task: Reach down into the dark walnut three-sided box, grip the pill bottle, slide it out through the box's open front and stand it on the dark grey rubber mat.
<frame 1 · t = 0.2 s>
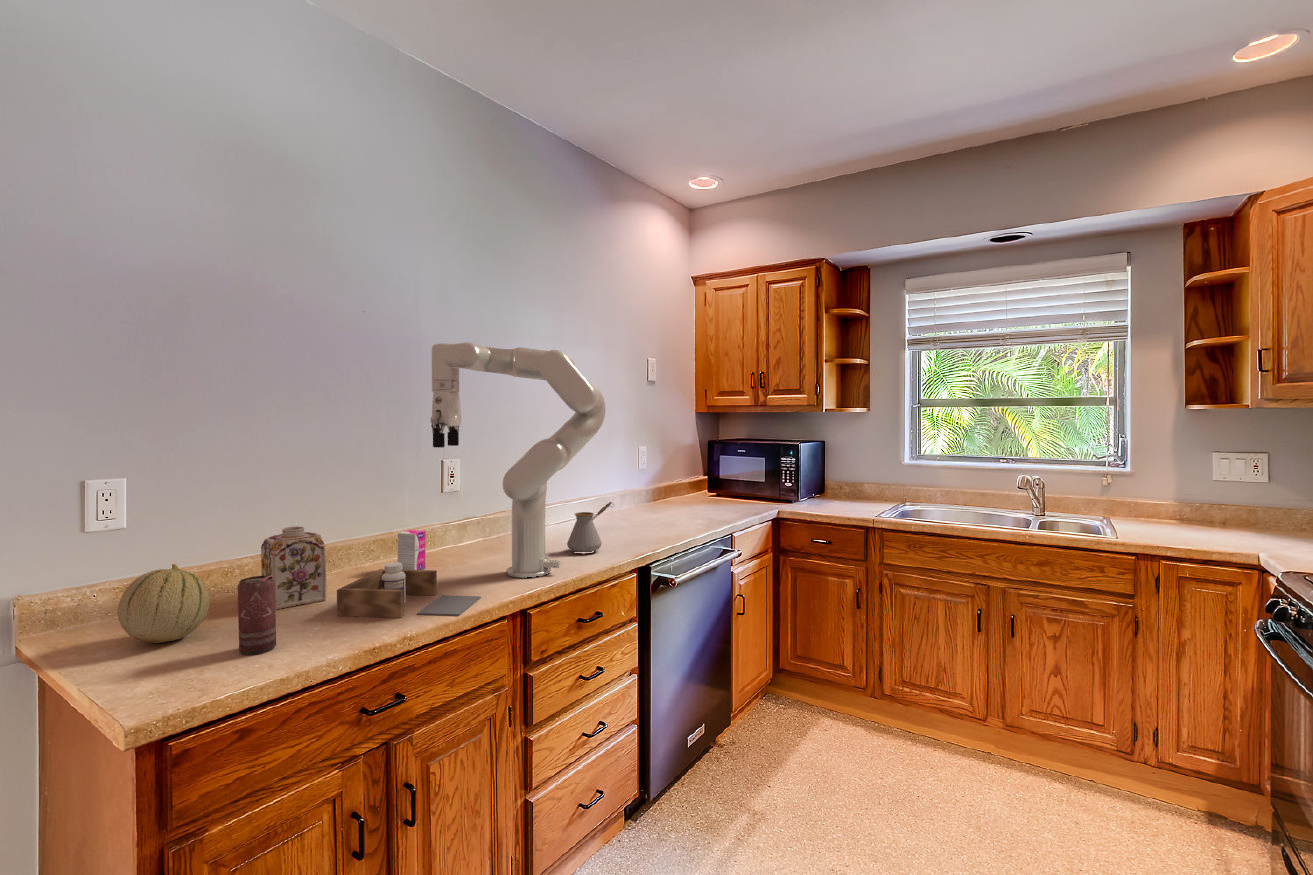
hand: (446, 446, 181), 36 cm above the worktop, tool pointing down, fingers open, 9 cm apart
coffee pot: (593, 549, 213), on the worktop
can: (258, 650, 123), on the worktop
open box: (389, 604, 152), on the worktop
pill bottle: (393, 605, 152), on the worktop
supplement box: (411, 570, 184), on the worktop
cantaloupe: (166, 641, 127), on the worktop
mat: (450, 605, 150), on the worktop
decorative jar: (294, 601, 155), on the worktop
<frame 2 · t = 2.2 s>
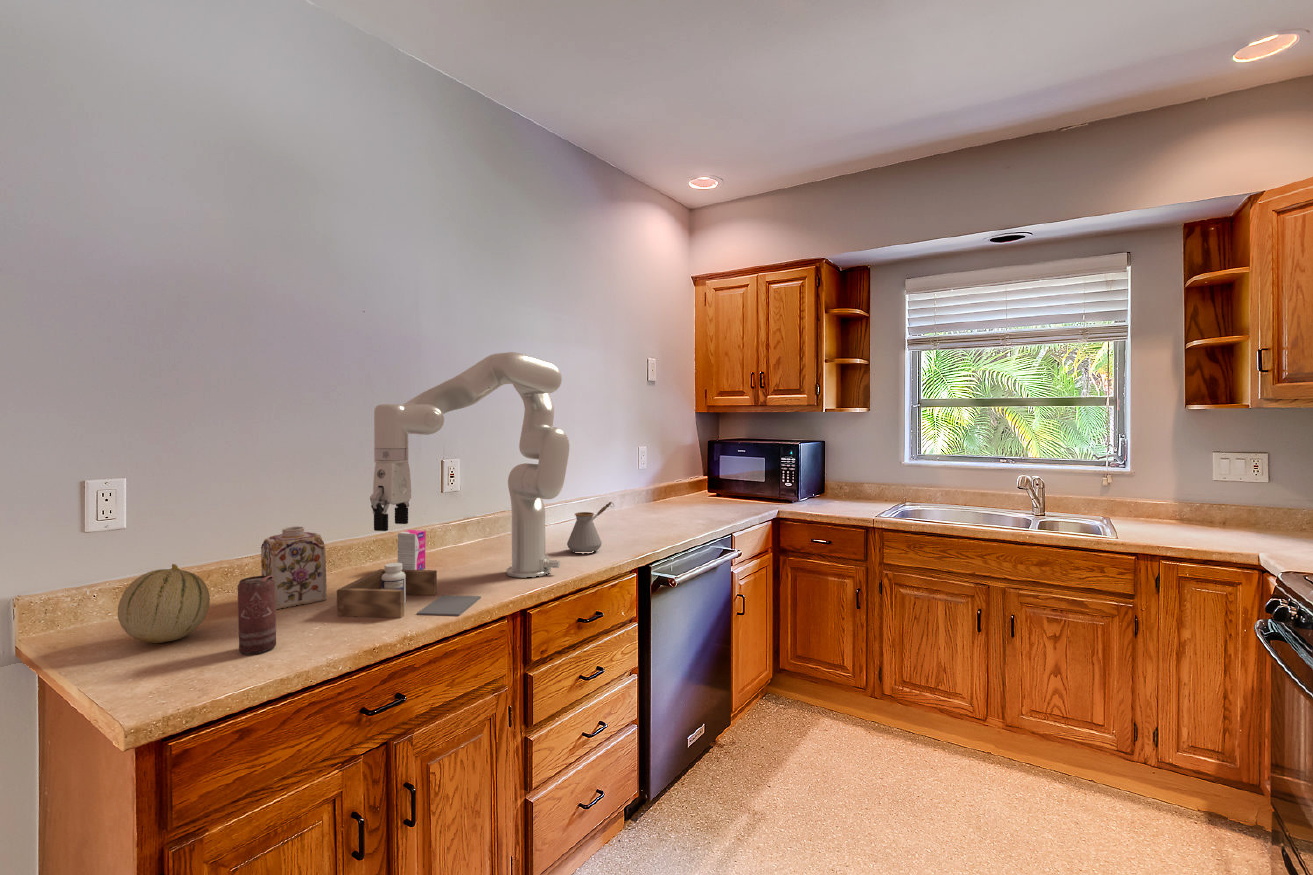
hand: (391, 527, 151), 19 cm above the worktop, tool pointing down, fingers open, 9 cm apart
nothing on the worktop moved.
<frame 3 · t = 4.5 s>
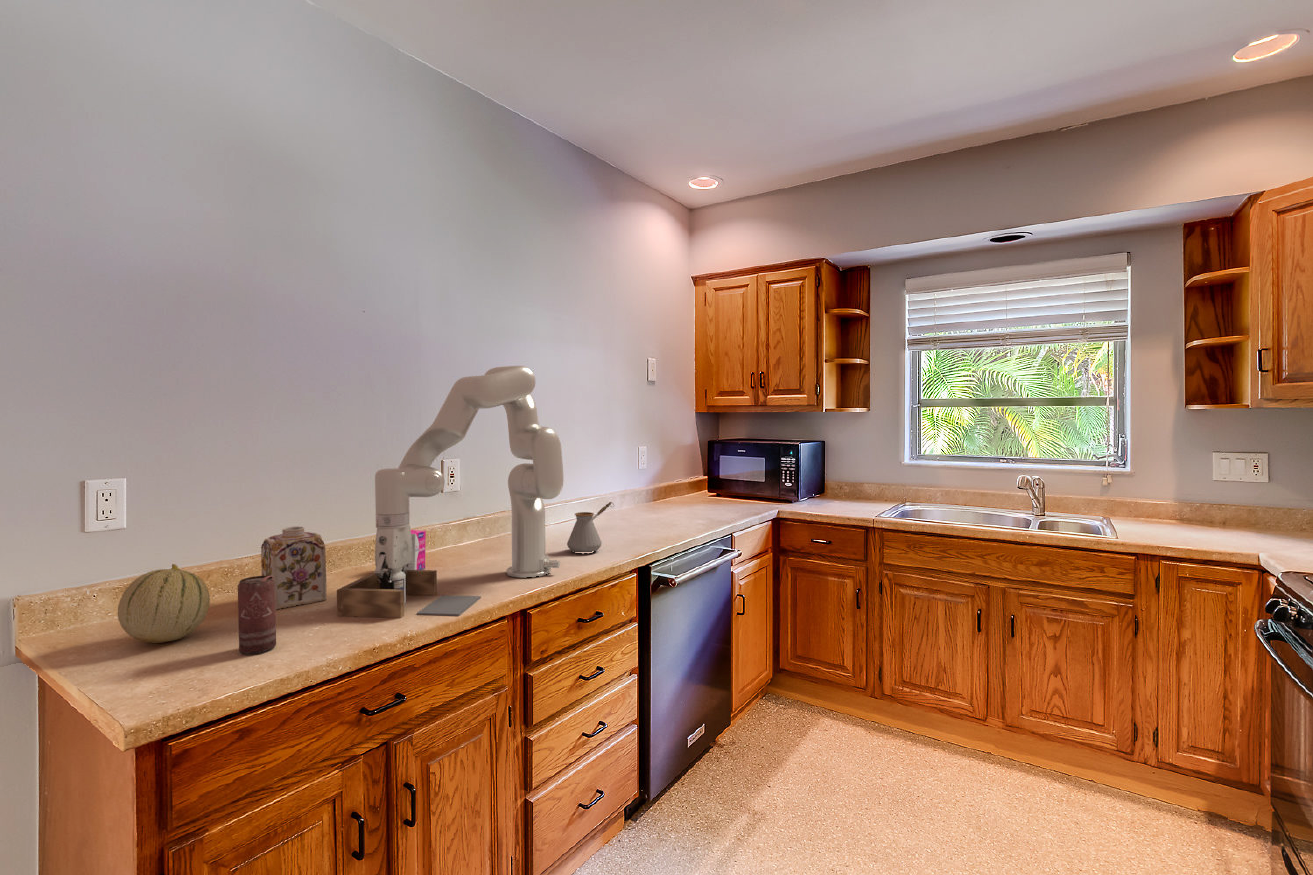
hand: (393, 594, 151), 2 cm above the worktop, tool pointing down, fingers closed on pill bottle, 5 cm apart
pill bottle: (393, 605, 152), on the worktop, touching gripper
everything else where it was.
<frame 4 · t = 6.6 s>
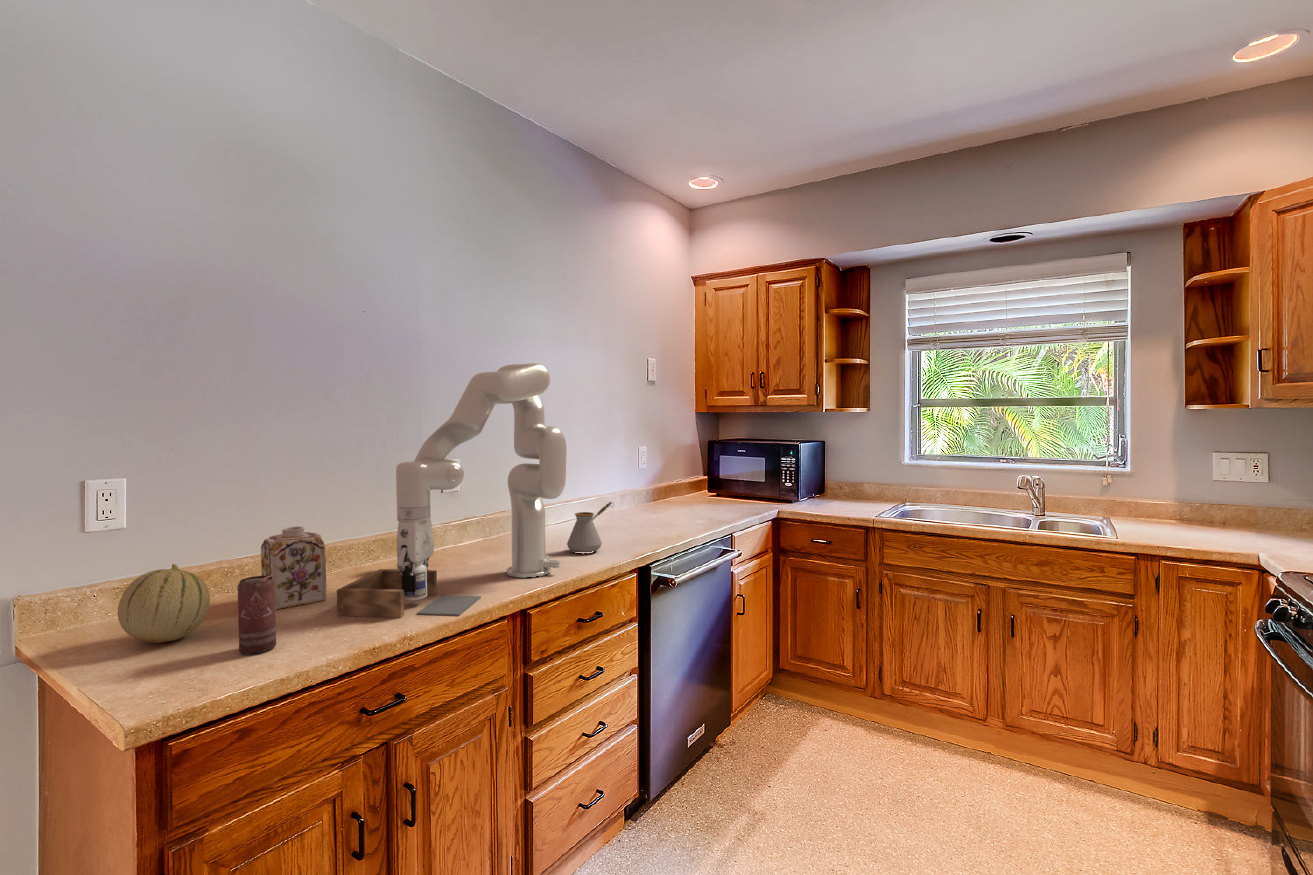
hand: (415, 587, 151), 4 cm above the worktop, tool pointing down, fingers closed on pill bottle, 5 cm apart
pill bottle: (415, 598, 151), point 2 cm above the worktop, touching gripper
everything else where it was.
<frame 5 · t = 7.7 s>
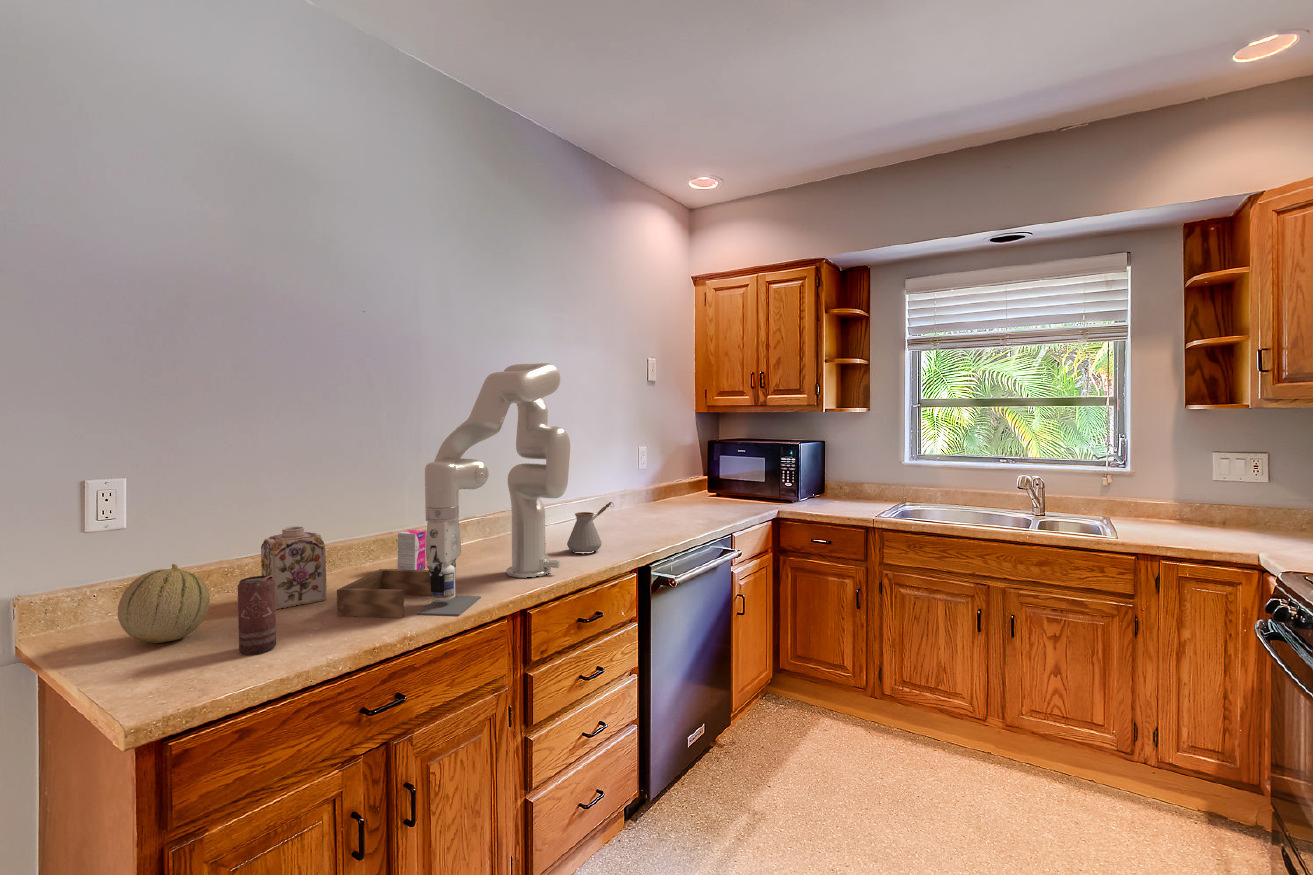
hand: (443, 587, 151), 4 cm above the worktop, tool pointing down, fingers closed on pill bottle, 5 cm apart
pill bottle: (443, 598, 151), point 2 cm above the worktop, touching gripper
everything else where it was.
when the fingers open (4 cm above the worktop, at t = 8.8 s): pill bottle stays where it is, resting on mat.
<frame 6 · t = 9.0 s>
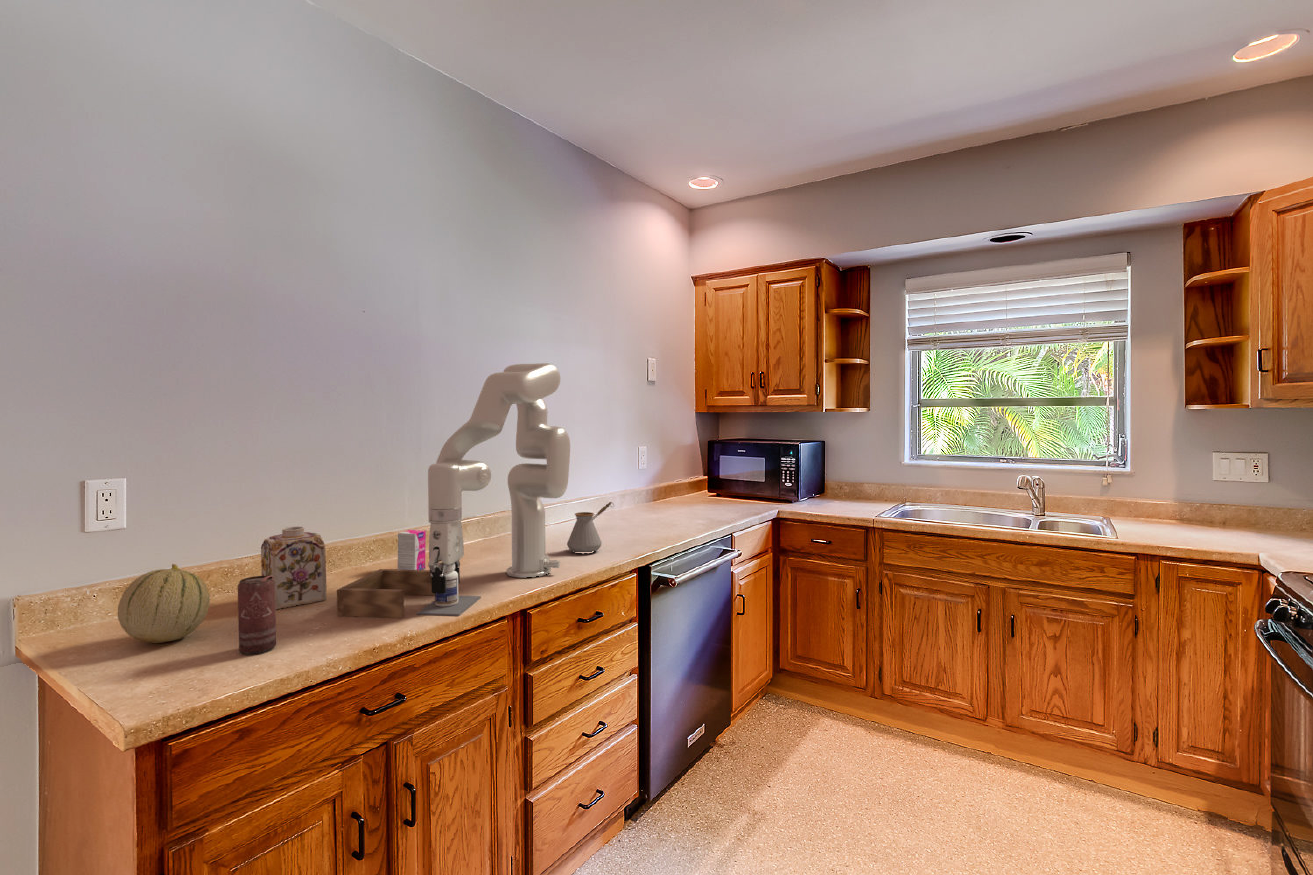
hand: (446, 587, 150), 4 cm above the worktop, tool pointing down, fingers open, 7 cm apart
pill bottle: (446, 604, 151), resting on mat
everything else where it was.
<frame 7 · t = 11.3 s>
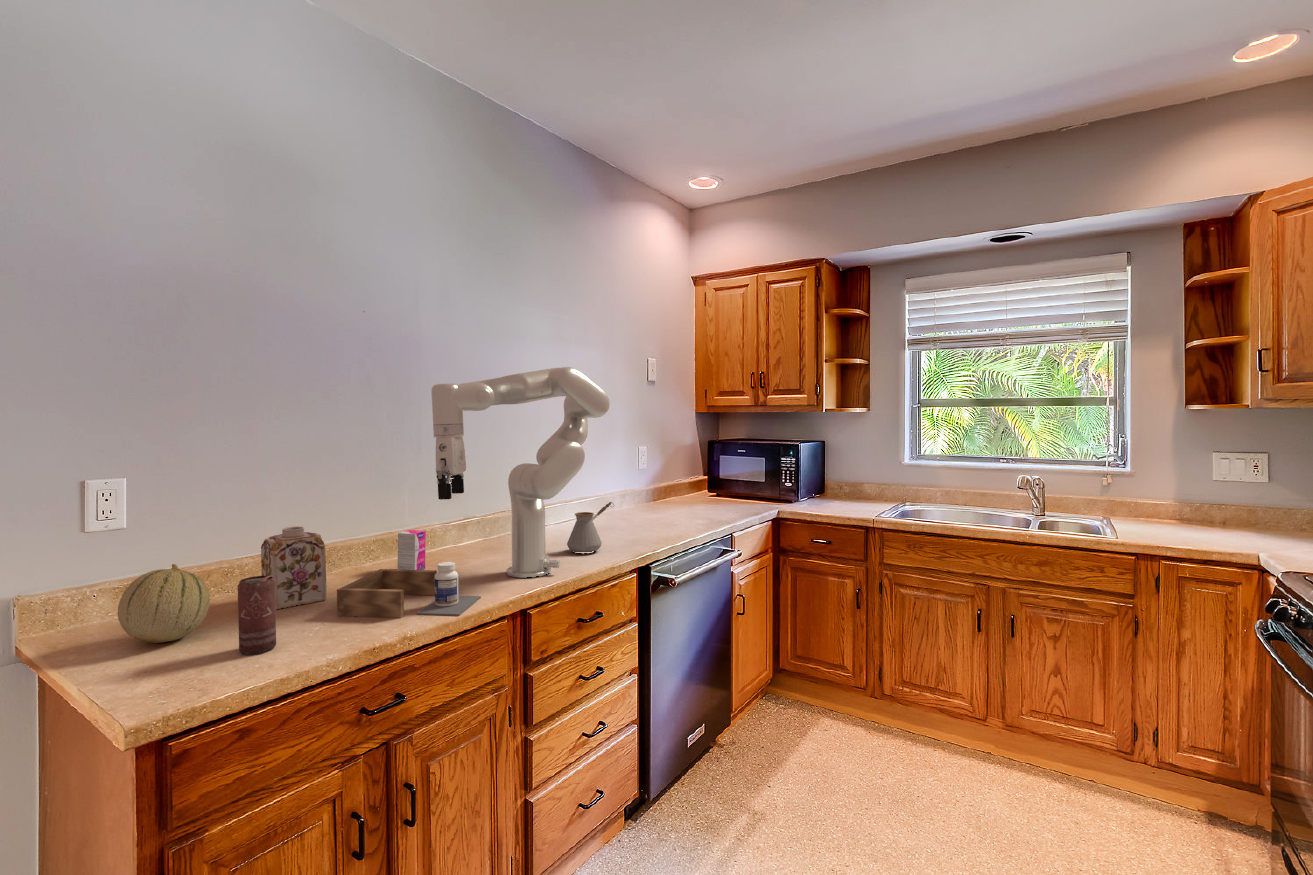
hand: (451, 496, 165), 24 cm above the worktop, tool pointing down, fingers open, 9 cm apart
nothing on the worktop moved.
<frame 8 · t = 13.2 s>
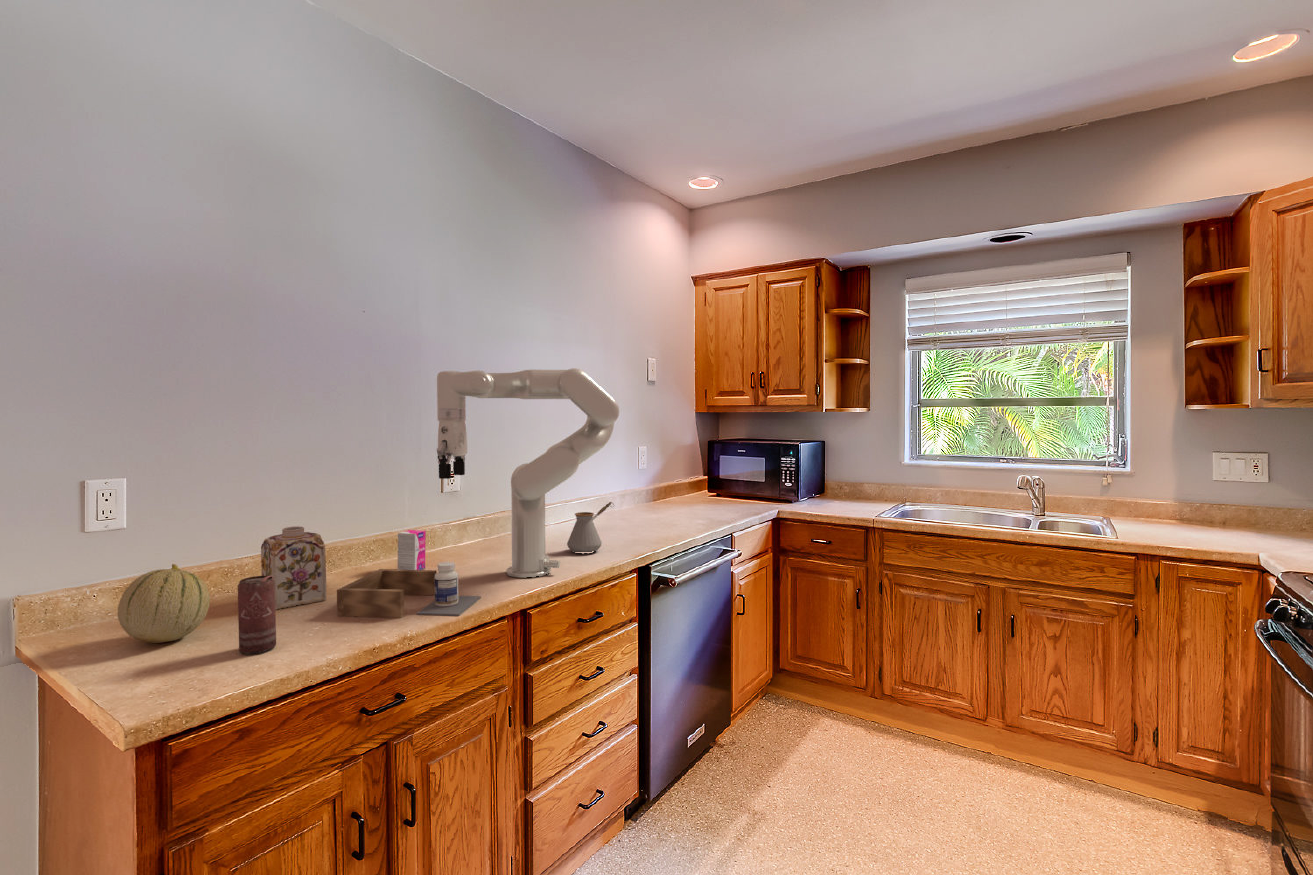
hand: (452, 476, 176), 28 cm above the worktop, tool pointing down, fingers open, 9 cm apart
nothing on the worktop moved.
at the end: pill bottle inside the target area on the mat (0.9 cm from its centre), point 0.2 cm above the mat's base; pill bottle tilted 0°; the gripper is holding nothing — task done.
